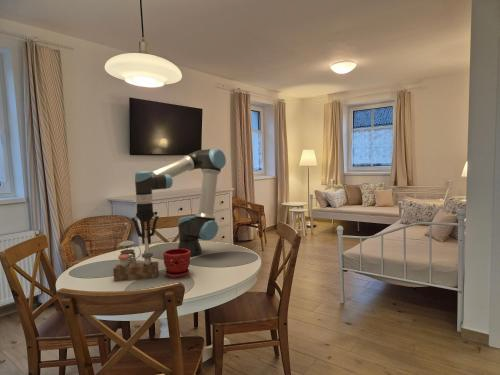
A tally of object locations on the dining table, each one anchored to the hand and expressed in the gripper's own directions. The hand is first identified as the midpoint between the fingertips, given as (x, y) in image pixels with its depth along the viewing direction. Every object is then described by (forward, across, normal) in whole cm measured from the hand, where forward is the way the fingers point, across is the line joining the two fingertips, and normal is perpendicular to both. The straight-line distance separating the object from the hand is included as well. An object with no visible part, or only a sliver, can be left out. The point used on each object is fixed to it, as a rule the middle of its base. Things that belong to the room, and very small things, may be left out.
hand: (147, 250), depth 158 cm
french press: (+13, -11, +15) cm, 23 cm away
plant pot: (+13, +15, -1) cm, 20 cm away
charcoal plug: (+9, 0, 0) cm, 9 cm away
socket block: (+13, -5, 0) cm, 14 cm away
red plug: (+9, -11, 0) cm, 14 cm away
